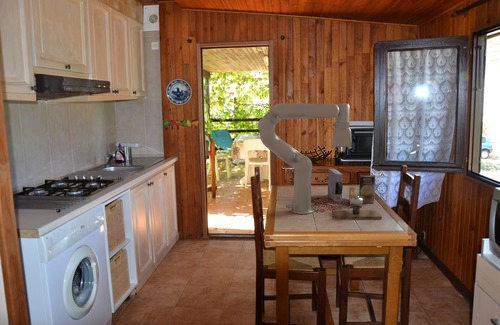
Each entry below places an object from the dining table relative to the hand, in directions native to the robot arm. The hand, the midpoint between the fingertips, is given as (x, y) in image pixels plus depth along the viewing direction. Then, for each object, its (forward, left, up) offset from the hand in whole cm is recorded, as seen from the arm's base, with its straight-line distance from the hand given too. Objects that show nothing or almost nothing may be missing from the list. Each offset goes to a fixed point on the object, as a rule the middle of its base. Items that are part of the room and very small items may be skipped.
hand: (341, 158), depth 227 cm
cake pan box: (0, +26, -29) cm, 39 cm away
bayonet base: (+6, -13, -29) cm, 32 cm away
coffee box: (+18, +18, -29) cm, 39 cm away
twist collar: (+6, -9, -23) cm, 25 cm away
